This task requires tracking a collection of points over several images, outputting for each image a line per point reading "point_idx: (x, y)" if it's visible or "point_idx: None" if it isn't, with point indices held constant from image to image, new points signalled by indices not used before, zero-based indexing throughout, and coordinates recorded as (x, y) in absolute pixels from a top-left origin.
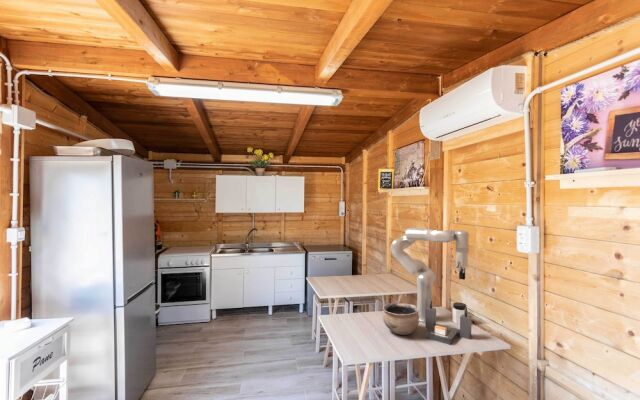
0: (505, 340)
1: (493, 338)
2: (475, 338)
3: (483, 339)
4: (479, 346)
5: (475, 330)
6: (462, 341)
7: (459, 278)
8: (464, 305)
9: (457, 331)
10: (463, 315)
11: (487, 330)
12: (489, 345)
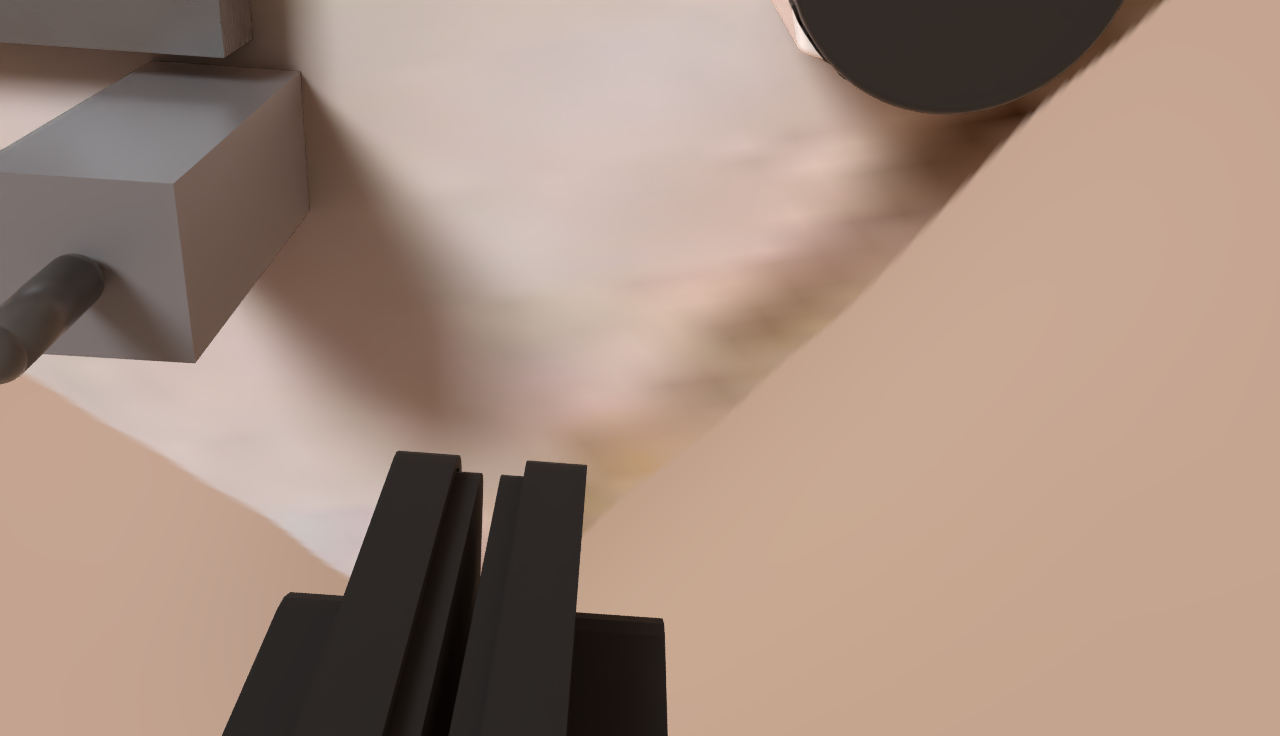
0: None
1: (466, 471)
2: (279, 275)
3: (329, 371)
4: (37, 365)
5: (619, 218)
6: (5, 134)
7: (399, 471)
8: (923, 75)
9: (95, 38)
10: (119, 214)
11: (736, 367)
12: (179, 460)
